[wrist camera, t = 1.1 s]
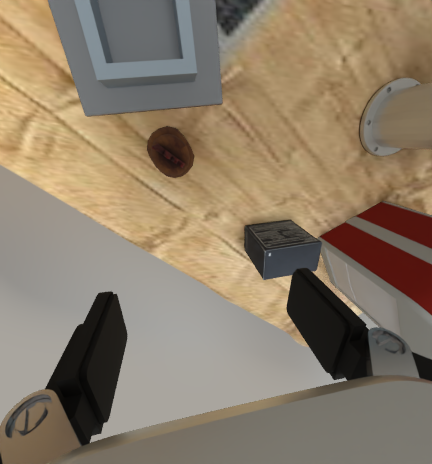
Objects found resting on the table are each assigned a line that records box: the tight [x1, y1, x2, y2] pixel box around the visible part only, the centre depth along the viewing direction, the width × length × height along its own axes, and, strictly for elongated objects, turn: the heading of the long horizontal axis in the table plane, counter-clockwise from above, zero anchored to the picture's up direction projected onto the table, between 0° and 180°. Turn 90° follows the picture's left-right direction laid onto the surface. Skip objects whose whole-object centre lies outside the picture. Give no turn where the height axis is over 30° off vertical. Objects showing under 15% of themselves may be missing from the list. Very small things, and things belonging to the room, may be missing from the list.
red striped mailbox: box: [318, 201, 432, 360], centre depth 38 cm, size 16×18×27 cm
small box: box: [244, 220, 322, 280], centre depth 40 cm, size 11×6×10 cm, turn 93°
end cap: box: [48, 0, 223, 117], centre depth 25 cm, size 20×18×6 cm
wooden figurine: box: [147, 126, 194, 178], centre depth 27 cm, size 7×6×15 cm
